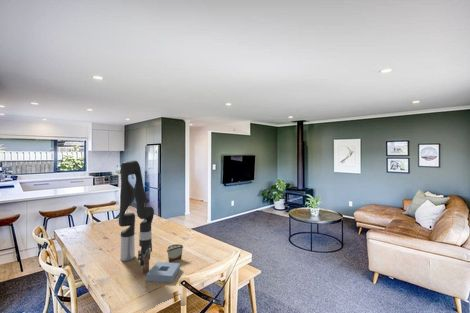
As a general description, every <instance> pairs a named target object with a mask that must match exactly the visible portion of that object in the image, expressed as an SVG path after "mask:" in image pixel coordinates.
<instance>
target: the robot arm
mask: <svg viewBox="0 0 470 313" xmlns="http://www.w3.org/2000/svg"><path fill="white" fill-rule="evenodd" d="M132 175H134V176H135V183H134V187H133V185H132V184H131V183H130V181H129V176H132ZM119 196H120V197H119V204H120V205H119V213H118V214H119V215H118V225H119V227H127V228H125V229H122V230H121V232H120V261H122V262H128V261H131V260H133V259H135V250H136V249H135V246H136V245H135V244H136V243H135V240H136V238H135V235H136V234H135V232H136V231H135V228H136V227H135V226H136V215H137V217H138V218H139V219H141V220H142V221H140V223H139V235H138V240H139V241H138V242H139V244H138V245H139V247H140V250H139V249H138V252H137V253H138V254H137V261H139V266H140V267H143V265H144V257H145V256H146V253H149V261H150V260H151V253H152V251H153V242H152V241H153V240H152V239H153V238H152V223H153V219H154V215H155V211H154V210H155V209H154V208H153V207H152V206H151V205H148V206H145V204H146V203H147V202H148V197H147V193H146V191H145V186H144V182H143V175H142V169H141V166H140V164H139V162H138V160H128V161H123V162H121V164H120V194H119ZM134 201H135V202H136V214H135V212H127V210H128V209H129V207H130V206H131V205H132V204H133V202H134ZM143 254H144V255H143Z"/></svg>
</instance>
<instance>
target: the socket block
mask: <svg viewBox="0 0 470 313" xmlns="http://www.w3.org/2000/svg"><path fill="white" fill-rule="evenodd" d="M180 270H181V262H180V263H179V262H171V263H169V262H165V261H164V262H163V261H156V263H154V265H153V266H152V267H151V268H149V272H148V273H146V274H145V280H146V282H156V283H157V282H159V283H160V282H161V283H173V281H174V279H175V278H176V277H177V275H178V273H179V271H180Z"/></svg>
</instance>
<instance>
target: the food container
mask: <svg viewBox="0 0 470 313" xmlns="http://www.w3.org/2000/svg"><path fill="white" fill-rule="evenodd" d="M183 249H184V245H183V244H177V243H176V244H171V245H169V246H168V247H167V248H166V252H167V258H168V259H167V260H168V263H176V262H177V261H180V260H182V257H183V256H182V255H183Z"/></svg>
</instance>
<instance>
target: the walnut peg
mask: <svg viewBox="0 0 470 313" xmlns="http://www.w3.org/2000/svg"><path fill="white" fill-rule="evenodd" d="M143 255H144V254H143ZM141 271H142V274H145V275H146V274H147V273H148V272H149V271H150V260H149V253H146V256H145V257H144V265H143V266H142V270H141Z"/></svg>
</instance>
